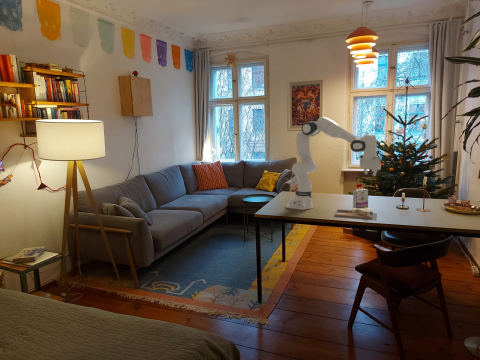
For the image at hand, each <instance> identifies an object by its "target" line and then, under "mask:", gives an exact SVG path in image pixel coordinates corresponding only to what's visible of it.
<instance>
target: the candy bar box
mask: <svg viewBox="0 0 480 360" xmlns="http://www.w3.org/2000/svg"><path fill="white" fill-rule="evenodd" d="M353 208H361V209H364V208H369V189H368V188H358V189H353V191H352V209H353Z"/></svg>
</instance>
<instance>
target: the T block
mask: <svg viewBox="0 0 480 360" xmlns="http://www.w3.org/2000/svg"><path fill="white" fill-rule="evenodd" d="M352 210H353V211H352V215H355V216H368V217H369V216H370V212H371V207H368V208H364V209H361V208H353V207H352Z"/></svg>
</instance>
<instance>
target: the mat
mask: <svg viewBox="0 0 480 360" xmlns="http://www.w3.org/2000/svg"><path fill="white" fill-rule="evenodd" d="M352 211H353V209H352V210H350V209H341V208H340V209H339V208H337V210H336V211H335V213H334V215H333V216H332V217H333V218H339V219H340V218H341V219H354V220H365V221H366V220H367V221H377V217H378V213H376V212H375V213H374V211H370V216H369V217H368V216H355V215H352Z"/></svg>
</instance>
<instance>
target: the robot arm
mask: <svg viewBox="0 0 480 360" xmlns="http://www.w3.org/2000/svg"><path fill="white" fill-rule="evenodd" d="M320 132H322V133H324V134H325V135H326V136H329V137H331V138H334V139H335V138H336V139H342V140H344V141H346V142H347V143H349V144H350V145H349V146H350V147H349V148H350V150H351V151H352V152H354V153H361V152H363V154H360V156H359V167H360V168H361V169H363V172H364V175H368V173H369V172H368V170H373V172H372V176H374V177H375V176H377V172H378V171H380V170H381V169H382V163H381V159H380V157H379V156H377V153H378V152H377V144H378V143H377V137H376V135H374V134H372V133H371V134H369V133H365V134H364V135H363V136H361V137H358V136H355V134H352V133H350V132H349V131H347V130H346V129H345V128H343V127H342V126H340V125H339V124H338V123H337V122H336V121H334V120H332V119H330V118H328V117H325V116H320V117H319V118H318V119H317V120H316V121H306V122H304V123H303V124H302V125H301V130H300V131H298V132H297V133H296V139H295V143H296V144H295V147H296V148H295V149H296V155H297V156H298V157H299V158H300V161H298V162H295V163H294V164H293V165H292V167H291V171H292V173H293V175H294V176H295V177H296V180H297V189H296V191H295V195H293V196H292V197H291V198H290V199H288V200H289V201H288V203H287V204H286V205H285V208H287V209H293V210H301V211H303V210H311V209H313V208H314V206H313V201H312V199H313V198H312V197H313V192H312V180H310V178H309V175H310V174H312V173H314V172H316V171H317V169H318V165H317V163H316V162H315V161H314V159H313V156H312V153H311V143H310V142H311V137H315V136H316V135H318V134H319V133H320Z"/></svg>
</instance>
